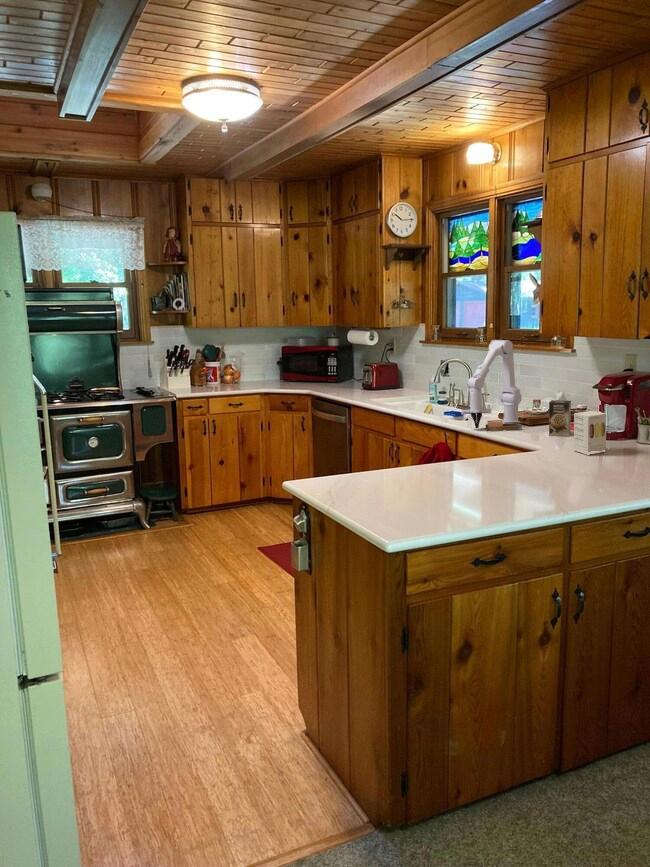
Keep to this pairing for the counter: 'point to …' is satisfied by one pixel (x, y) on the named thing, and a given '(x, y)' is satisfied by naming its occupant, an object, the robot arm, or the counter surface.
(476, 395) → the robot arm
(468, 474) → the counter surface
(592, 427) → the supplement box
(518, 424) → the walnut chute
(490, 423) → the block
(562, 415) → the grey rectangular box
